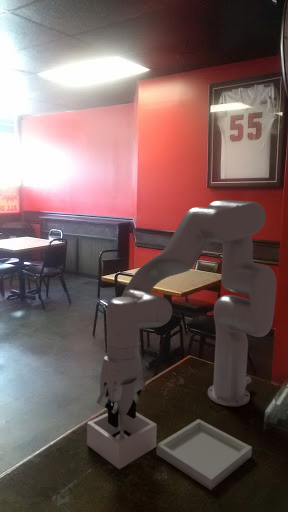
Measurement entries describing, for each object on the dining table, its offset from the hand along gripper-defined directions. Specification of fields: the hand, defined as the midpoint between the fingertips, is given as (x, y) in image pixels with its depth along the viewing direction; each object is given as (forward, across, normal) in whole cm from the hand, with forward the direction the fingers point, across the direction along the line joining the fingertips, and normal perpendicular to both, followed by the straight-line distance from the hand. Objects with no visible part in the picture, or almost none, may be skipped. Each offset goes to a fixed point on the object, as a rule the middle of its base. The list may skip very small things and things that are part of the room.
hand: (121, 419), depth 99 cm
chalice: (+7, 0, 0) cm, 7 cm away
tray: (+7, -12, +16) cm, 21 cm away
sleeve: (+7, 0, 0) cm, 7 cm away
